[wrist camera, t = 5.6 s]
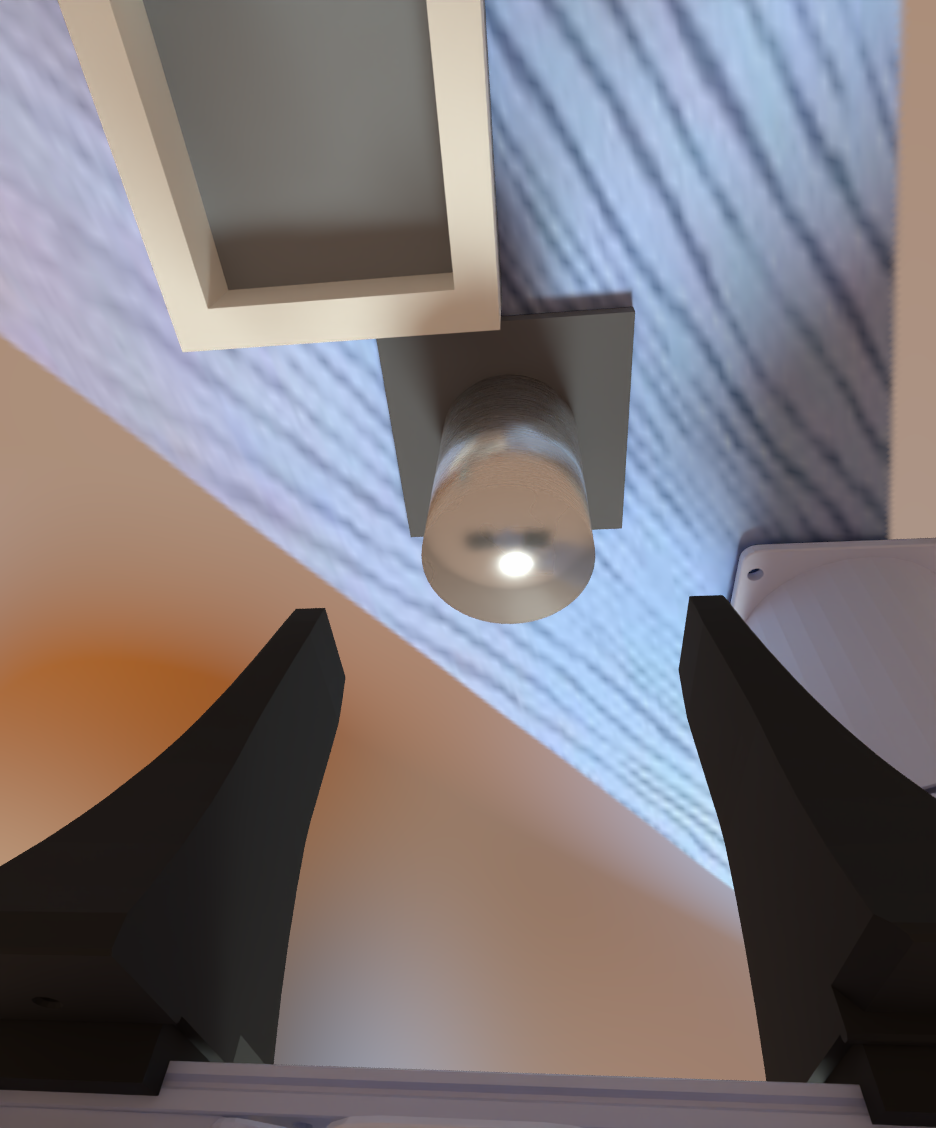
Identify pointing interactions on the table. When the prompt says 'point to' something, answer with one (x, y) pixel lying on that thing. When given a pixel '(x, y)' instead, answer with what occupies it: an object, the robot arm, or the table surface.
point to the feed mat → (521, 347)
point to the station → (303, 162)
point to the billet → (509, 504)
